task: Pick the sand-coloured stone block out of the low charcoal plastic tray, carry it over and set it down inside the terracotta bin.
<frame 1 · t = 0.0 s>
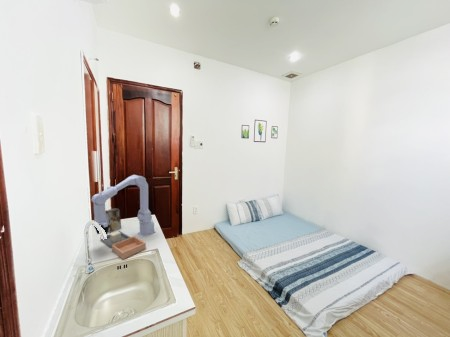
hand: (101, 235, 116), 10 cm above the worktop, fingers open, 7 cm apart
stone block: (115, 240, 129), resting on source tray
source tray: (115, 241, 129), on the worktop
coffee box: (113, 230, 144), on the worktop
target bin: (129, 250, 118), on the worktop
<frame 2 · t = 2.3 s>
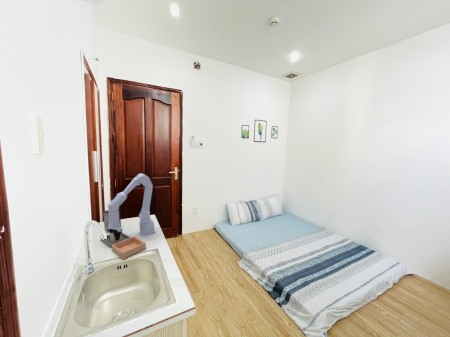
hand: (115, 238, 128), 2 cm above the worktop, fingers closed on stone block, 5 cm apart
stone block: (115, 240, 129), resting on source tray, touching gripper
everything else where it was.
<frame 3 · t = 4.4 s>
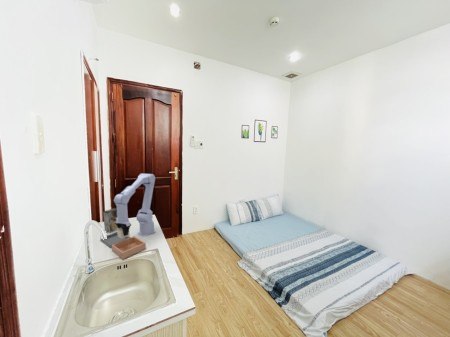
hand: (123, 233, 120), 9 cm above the worktop, fingers closed on stone block, 5 cm apart
stone block: (123, 235, 120), point 8 cm above the worktop, touching gripper
everything else where it was.
when the fingers open (4 cm above the worktop, at t = 6.7 s): stone block drops 2 cm, resting on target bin.
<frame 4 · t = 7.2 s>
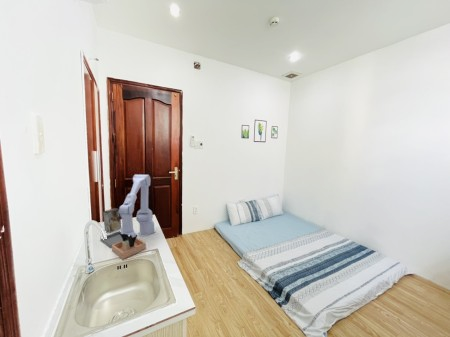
hand: (128, 244, 117), 4 cm above the worktop, fingers open, 7 cm apart
stone block: (128, 249, 118), resting on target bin
everything else where it was.
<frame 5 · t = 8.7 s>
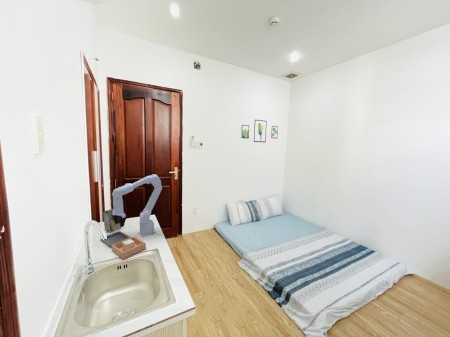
hand: (119, 225, 131), 9 cm above the worktop, fingers open, 7 cm apart
nothing on the worktop moved.
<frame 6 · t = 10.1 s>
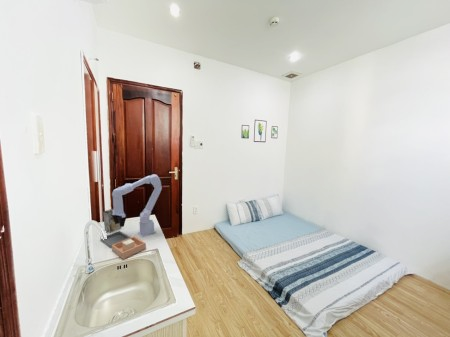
hand: (119, 225, 132), 9 cm above the worktop, fingers open, 7 cm apart
nothing on the worktop moved.
at the end: stone block inside the target area on the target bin (0.2 cm from its centre), point 0.5 cm above the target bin's base; the gripper is holding nothing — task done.
